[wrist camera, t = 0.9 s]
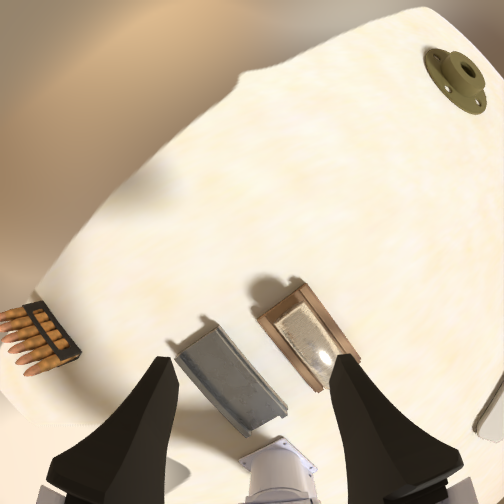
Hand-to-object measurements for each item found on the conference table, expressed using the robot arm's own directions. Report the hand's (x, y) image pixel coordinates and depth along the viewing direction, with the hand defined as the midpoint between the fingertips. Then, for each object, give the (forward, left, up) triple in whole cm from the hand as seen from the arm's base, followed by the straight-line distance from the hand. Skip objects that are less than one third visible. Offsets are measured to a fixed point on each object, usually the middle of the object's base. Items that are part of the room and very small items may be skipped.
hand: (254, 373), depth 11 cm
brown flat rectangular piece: (-7, -2, -21) cm, 22 cm away
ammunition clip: (+14, +28, -21) cm, 37 cm away
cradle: (-6, +9, -21) cm, 23 cm away
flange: (+8, -52, -21) cm, 57 cm away
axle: (-7, -2, -20) cm, 21 cm away
